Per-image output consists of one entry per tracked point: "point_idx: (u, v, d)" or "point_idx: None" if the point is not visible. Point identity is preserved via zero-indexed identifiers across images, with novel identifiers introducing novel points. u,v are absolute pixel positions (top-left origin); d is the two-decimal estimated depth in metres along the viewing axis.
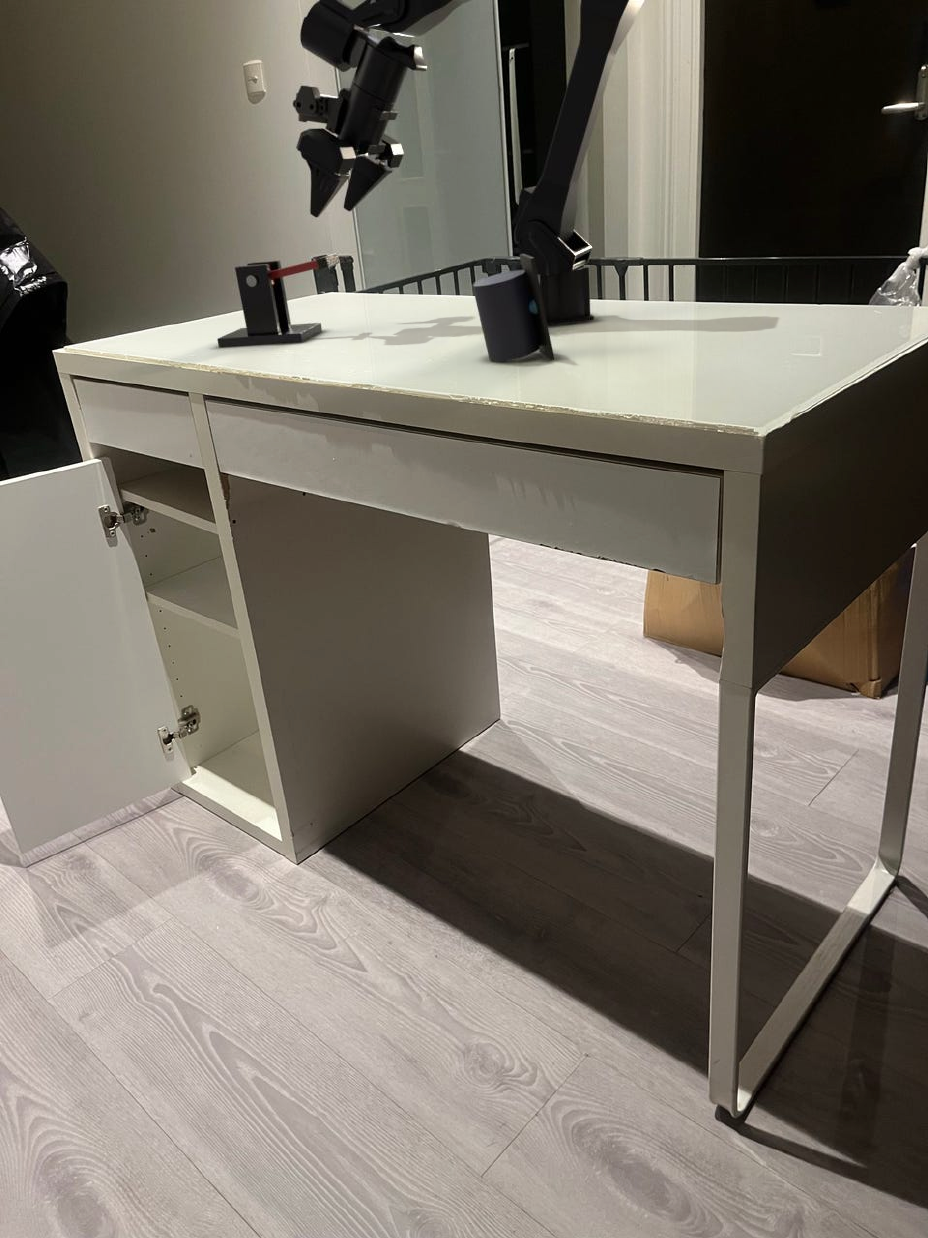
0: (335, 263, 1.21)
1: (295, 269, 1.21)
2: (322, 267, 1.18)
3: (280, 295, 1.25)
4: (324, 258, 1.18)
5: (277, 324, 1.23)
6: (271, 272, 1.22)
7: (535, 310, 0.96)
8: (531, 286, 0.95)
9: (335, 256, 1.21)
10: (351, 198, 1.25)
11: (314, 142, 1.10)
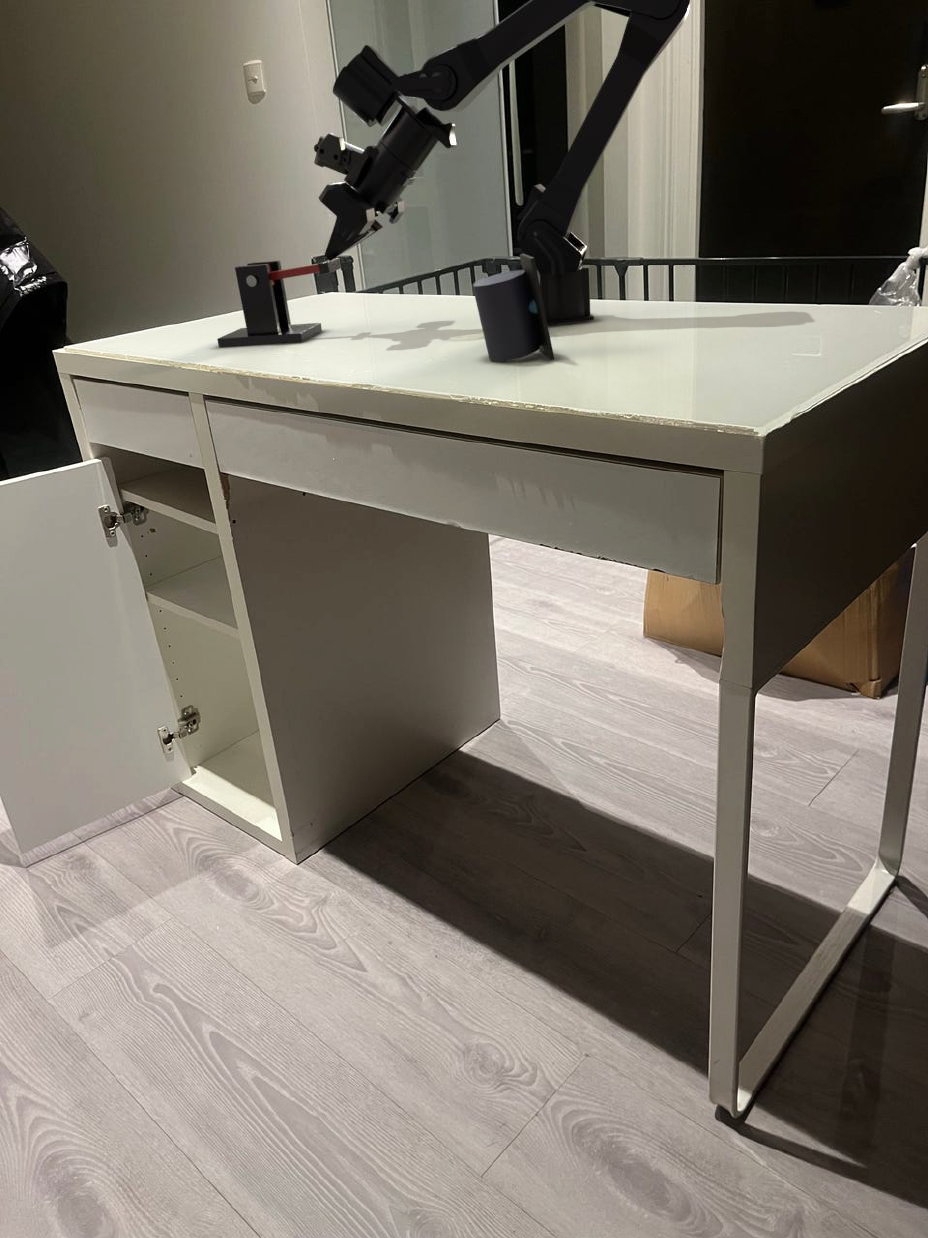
0: (336, 268, 1.21)
1: (296, 271, 1.21)
2: (323, 272, 1.19)
3: (280, 295, 1.25)
4: (326, 263, 1.18)
5: (277, 324, 1.23)
6: (271, 273, 1.22)
7: (535, 310, 0.96)
8: (531, 286, 0.95)
9: (336, 261, 1.21)
10: None
11: (340, 199, 1.08)
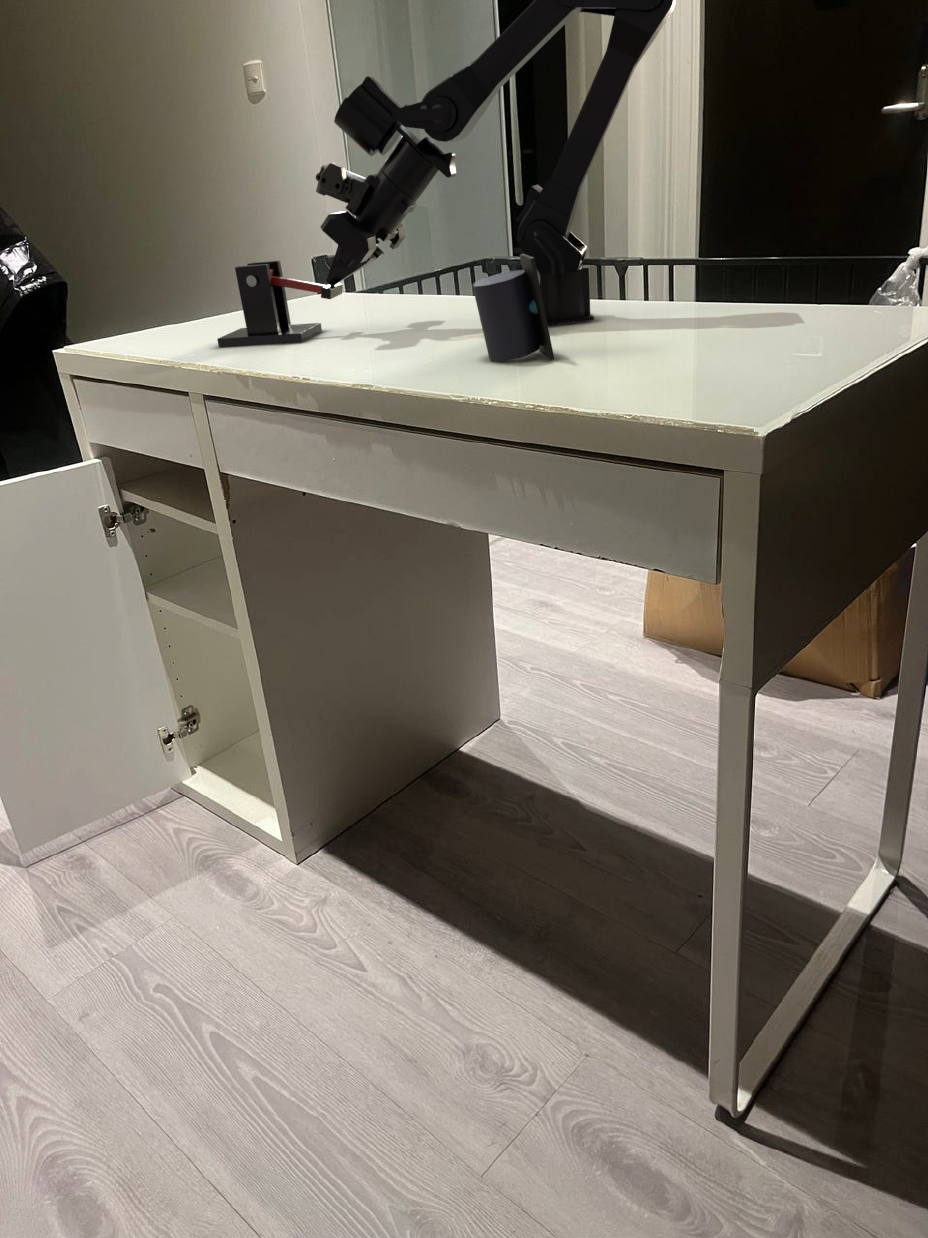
0: (337, 294, 1.22)
1: (297, 285, 1.22)
2: (324, 297, 1.20)
3: (280, 295, 1.25)
4: (329, 289, 1.19)
5: (277, 324, 1.23)
6: (273, 278, 1.22)
7: (535, 310, 0.96)
8: (531, 286, 0.95)
9: (339, 287, 1.23)
10: None
11: (341, 228, 1.09)
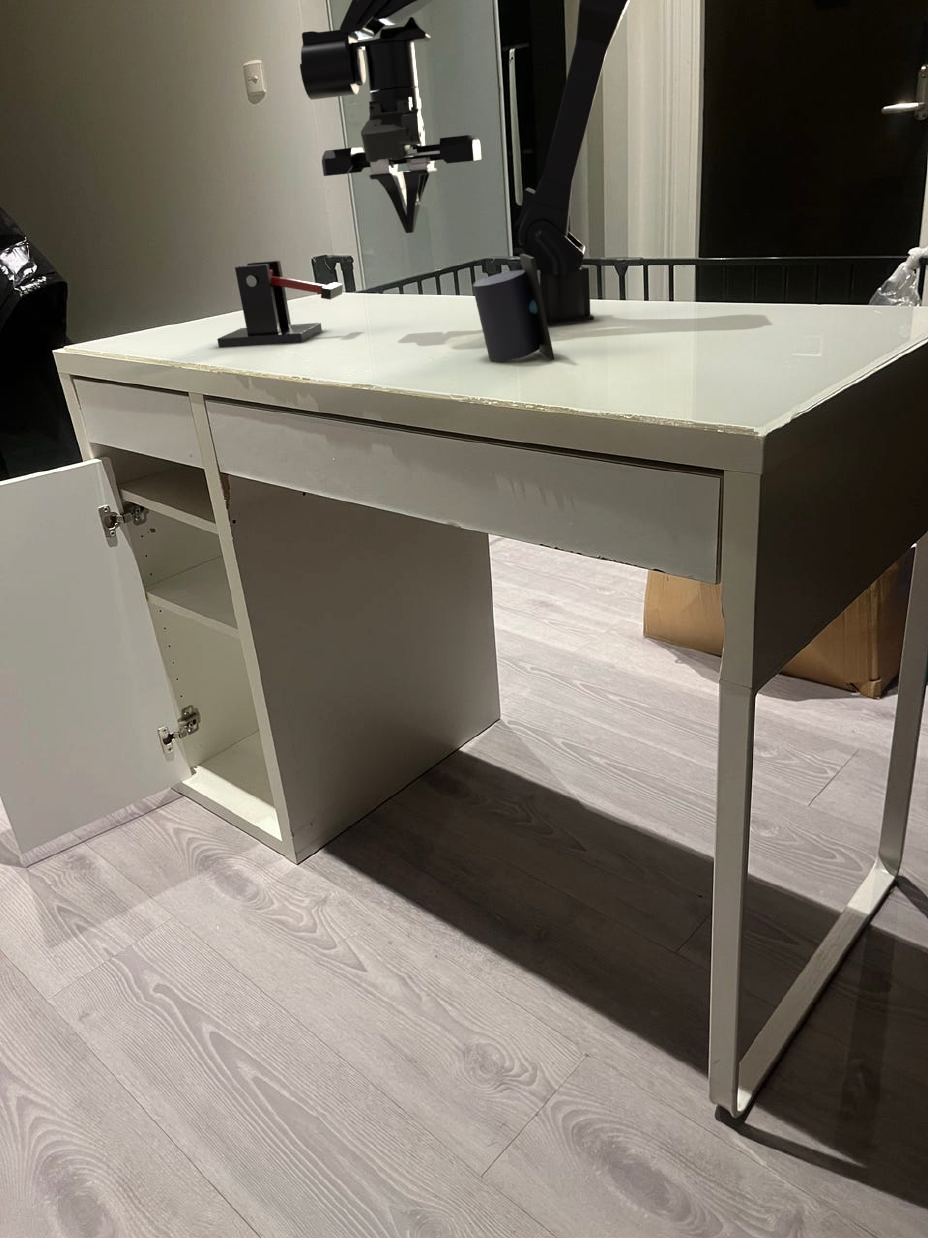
0: (337, 295, 1.23)
1: (297, 285, 1.22)
2: (324, 297, 1.20)
3: (280, 295, 1.25)
4: (329, 290, 1.19)
5: (277, 324, 1.23)
6: (273, 278, 1.22)
7: (535, 310, 0.96)
8: (531, 286, 0.95)
9: (339, 288, 1.23)
10: None
11: (475, 143, 1.09)
